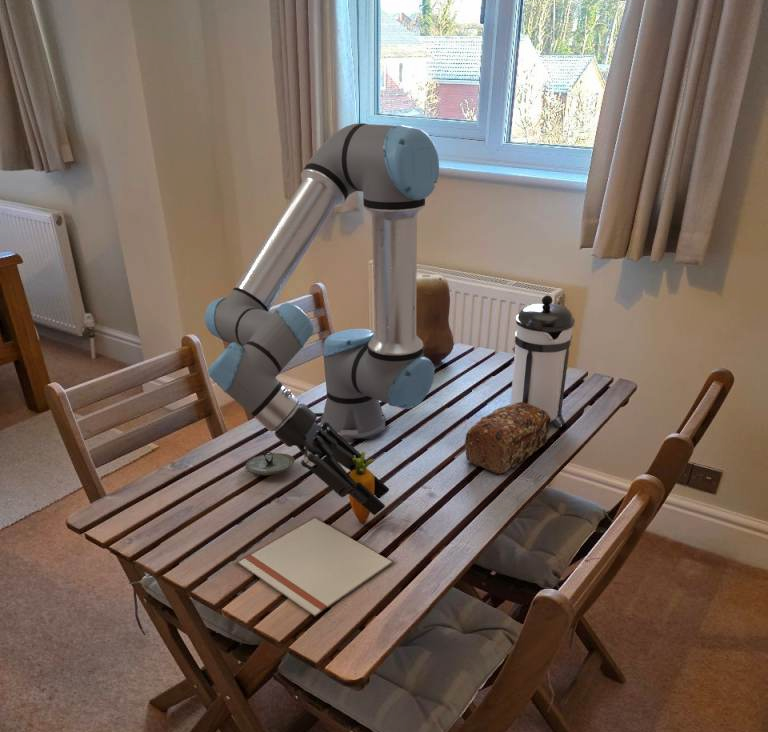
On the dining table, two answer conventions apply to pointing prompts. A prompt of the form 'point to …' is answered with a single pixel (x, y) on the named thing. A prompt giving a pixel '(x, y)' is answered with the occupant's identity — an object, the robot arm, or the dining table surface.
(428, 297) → the butternut squash
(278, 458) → the lid
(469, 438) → the bread
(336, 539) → the napkin
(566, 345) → the coffee press
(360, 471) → the carrot
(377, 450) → the dining table surface
